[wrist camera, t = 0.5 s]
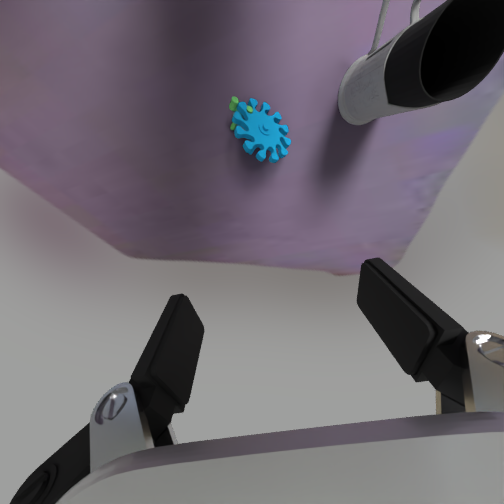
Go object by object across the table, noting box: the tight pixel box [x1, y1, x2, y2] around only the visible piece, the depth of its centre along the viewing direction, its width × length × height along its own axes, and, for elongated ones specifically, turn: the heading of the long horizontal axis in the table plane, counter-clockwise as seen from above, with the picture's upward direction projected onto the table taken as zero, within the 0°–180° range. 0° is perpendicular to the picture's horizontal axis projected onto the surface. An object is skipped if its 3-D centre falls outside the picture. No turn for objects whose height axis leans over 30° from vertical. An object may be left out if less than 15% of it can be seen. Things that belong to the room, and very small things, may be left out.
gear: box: [229, 97, 291, 163], centre depth 29 cm, size 11×6×10 cm
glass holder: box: [338, 0, 504, 125], centre depth 21 cm, size 9×14×15 cm, turn 25°
